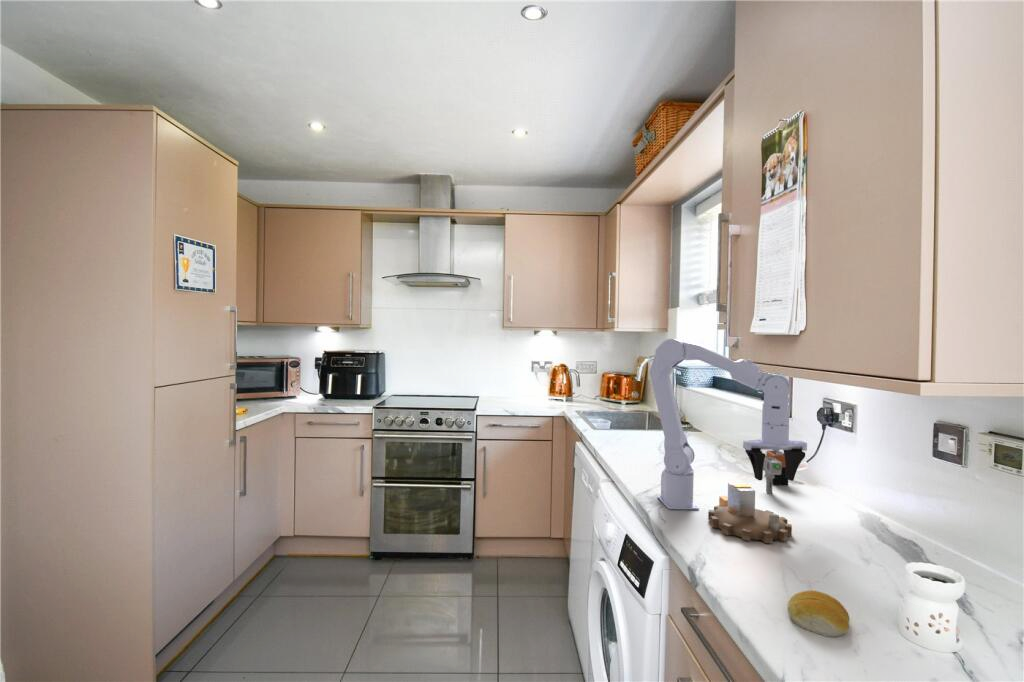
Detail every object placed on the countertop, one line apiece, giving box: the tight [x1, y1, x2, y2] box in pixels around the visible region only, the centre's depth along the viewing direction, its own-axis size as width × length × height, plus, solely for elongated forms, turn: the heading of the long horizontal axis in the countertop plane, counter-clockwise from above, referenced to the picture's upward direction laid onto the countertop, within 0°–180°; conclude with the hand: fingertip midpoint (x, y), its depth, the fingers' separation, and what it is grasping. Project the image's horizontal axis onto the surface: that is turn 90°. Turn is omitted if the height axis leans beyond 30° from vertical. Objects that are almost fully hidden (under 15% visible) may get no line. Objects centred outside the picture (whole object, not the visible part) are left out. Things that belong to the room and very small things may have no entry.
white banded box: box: [727, 482, 756, 516], centre depth 115 cm, size 6×4×6 cm, turn 1°
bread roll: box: [787, 590, 850, 638], centre depth 76 cm, size 8×9×4 cm
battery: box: [765, 450, 789, 487], centre depth 147 cm, size 4×7×10 cm, turn 170°
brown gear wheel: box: [707, 505, 793, 544], centre depth 111 cm, size 17×17×5 cm
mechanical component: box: [763, 456, 782, 494], centre depth 136 cm, size 3×10×10 cm, turn 174°
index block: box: [718, 495, 728, 507], centre depth 123 cm, size 3×2×3 cm, turn 1°
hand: (774, 479), depth 115 cm, fingers open, 7 cm apart
